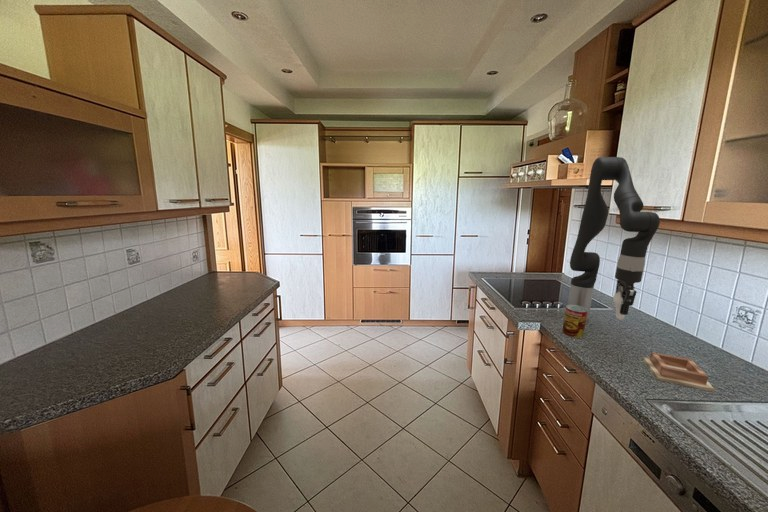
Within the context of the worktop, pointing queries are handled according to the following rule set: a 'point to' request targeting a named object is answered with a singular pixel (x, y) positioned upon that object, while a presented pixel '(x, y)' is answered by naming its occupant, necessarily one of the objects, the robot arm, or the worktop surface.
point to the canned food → (574, 321)
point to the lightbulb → (618, 305)
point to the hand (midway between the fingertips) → (621, 311)
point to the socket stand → (677, 371)
